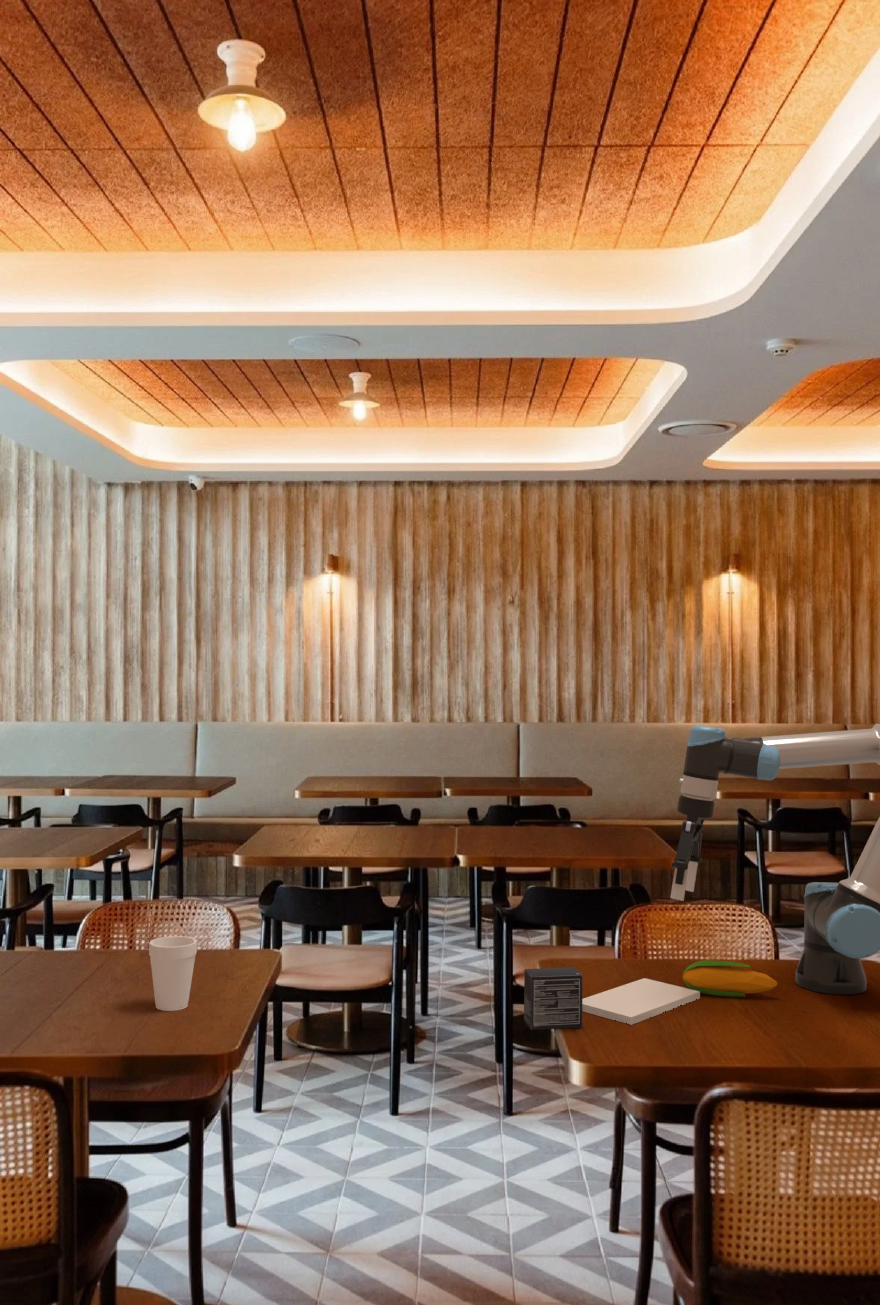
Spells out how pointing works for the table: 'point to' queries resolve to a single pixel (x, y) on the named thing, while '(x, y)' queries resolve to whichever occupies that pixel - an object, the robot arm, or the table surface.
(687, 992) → the platter
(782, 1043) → the table surface
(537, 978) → the small box
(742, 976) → the mango
